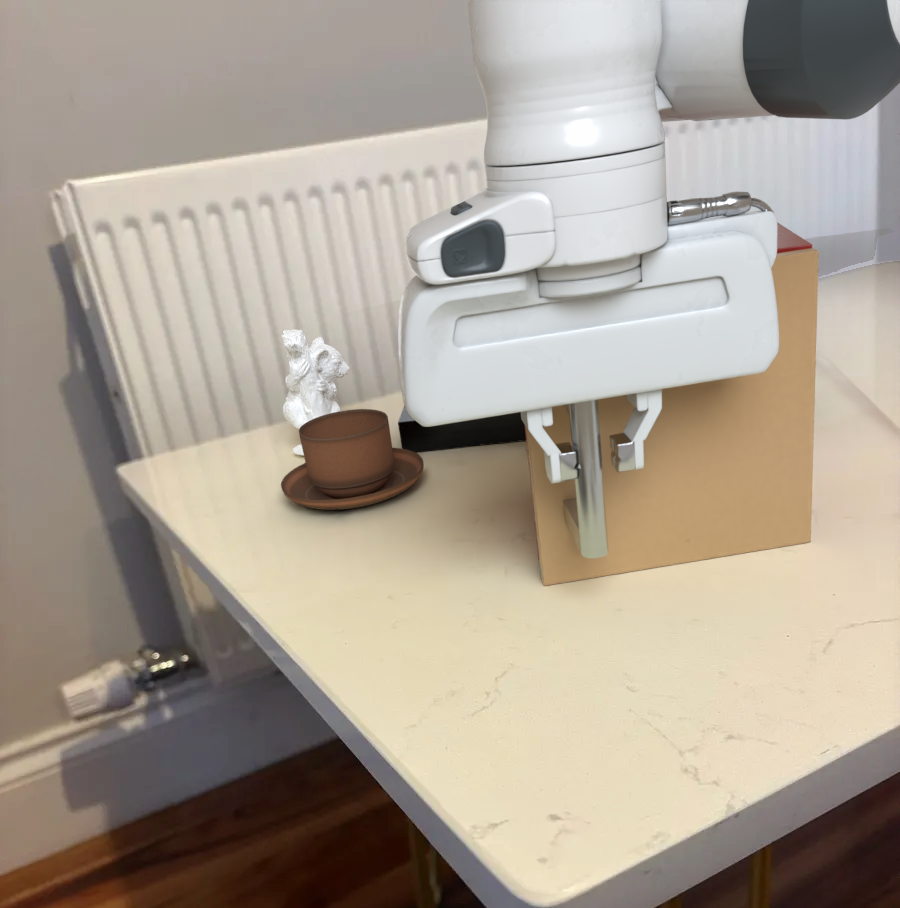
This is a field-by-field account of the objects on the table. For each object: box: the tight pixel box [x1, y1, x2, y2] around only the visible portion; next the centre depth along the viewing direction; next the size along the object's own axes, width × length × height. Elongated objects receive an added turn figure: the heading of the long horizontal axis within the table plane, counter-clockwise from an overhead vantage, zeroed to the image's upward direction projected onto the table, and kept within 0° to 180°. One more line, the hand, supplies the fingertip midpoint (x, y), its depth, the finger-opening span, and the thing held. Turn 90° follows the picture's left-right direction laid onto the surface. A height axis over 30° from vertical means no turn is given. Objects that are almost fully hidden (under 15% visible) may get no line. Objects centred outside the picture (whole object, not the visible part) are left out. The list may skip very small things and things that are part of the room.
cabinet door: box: [525, 247, 820, 587], centre depth 60 cm, size 7×18×18 cm, turn 95°
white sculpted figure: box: [280, 329, 350, 457], centre depth 95 cm, size 8×7×12 cm
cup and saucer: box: [280, 408, 425, 511], centre depth 85 cm, size 12×12×6 cm
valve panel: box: [397, 405, 526, 453], centre depth 97 cm, size 12×10×3 cm
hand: (594, 473), depth 58 cm, fingers closed
